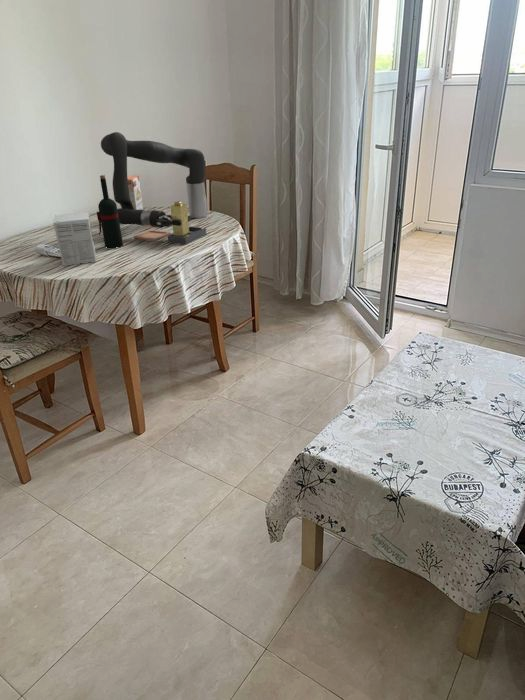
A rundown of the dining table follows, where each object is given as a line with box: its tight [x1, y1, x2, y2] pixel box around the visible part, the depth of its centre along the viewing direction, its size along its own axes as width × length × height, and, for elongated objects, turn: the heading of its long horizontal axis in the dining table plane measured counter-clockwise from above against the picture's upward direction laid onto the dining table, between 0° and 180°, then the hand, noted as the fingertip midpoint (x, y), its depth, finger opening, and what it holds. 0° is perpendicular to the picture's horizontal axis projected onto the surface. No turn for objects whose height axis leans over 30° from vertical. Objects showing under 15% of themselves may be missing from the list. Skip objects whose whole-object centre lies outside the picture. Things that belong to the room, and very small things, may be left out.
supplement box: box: [53, 211, 97, 266], centre depth 211 cm, size 13×13×18 cm
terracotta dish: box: [133, 229, 172, 243], centre depth 241 cm, size 12×12×1 cm
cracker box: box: [127, 174, 144, 210], centre depth 271 cm, size 14×6×21 cm, turn 179°
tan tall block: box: [169, 200, 190, 237], centre depth 230 cm, size 5×5×17 cm
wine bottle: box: [96, 174, 124, 249], centre depth 224 cm, size 8×10×30 cm
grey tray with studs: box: [167, 226, 207, 245], centre depth 237 cm, size 17×10×3 cm, turn 155°
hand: (184, 221), depth 229 cm, fingers open, 6 cm apart
